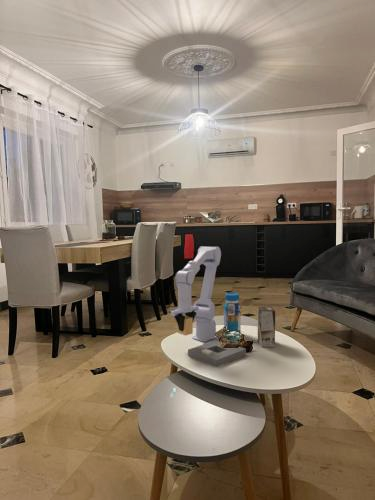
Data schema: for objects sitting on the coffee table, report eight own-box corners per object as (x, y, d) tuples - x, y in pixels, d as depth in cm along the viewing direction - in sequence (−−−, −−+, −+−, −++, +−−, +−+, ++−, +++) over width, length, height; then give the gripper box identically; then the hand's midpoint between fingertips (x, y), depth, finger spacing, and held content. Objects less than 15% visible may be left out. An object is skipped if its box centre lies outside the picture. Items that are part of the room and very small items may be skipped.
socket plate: (217, 345, 161) (217, 337, 161) (245, 354, 149) (245, 346, 149) (188, 355, 149) (187, 347, 149) (216, 366, 137) (216, 358, 137)
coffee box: (275, 347, 157) (275, 311, 156) (260, 347, 157) (260, 311, 156) (271, 340, 166) (271, 306, 165) (257, 340, 167) (257, 306, 165)
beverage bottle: (220, 333, 178) (219, 293, 176) (232, 330, 183) (232, 291, 181) (232, 337, 171) (231, 296, 169) (244, 334, 176) (244, 293, 174)
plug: (184, 331, 158) (184, 315, 158) (192, 333, 155) (192, 317, 154) (178, 332, 156) (177, 316, 155) (185, 335, 152) (185, 319, 152)
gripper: (178, 302, 146) (178, 335, 147) (203, 297, 156) (203, 327, 157) (167, 300, 151) (167, 331, 153) (192, 294, 161) (192, 324, 162)
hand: (185, 329), depth 155 cm, fingers closed on plug, 4 cm apart
